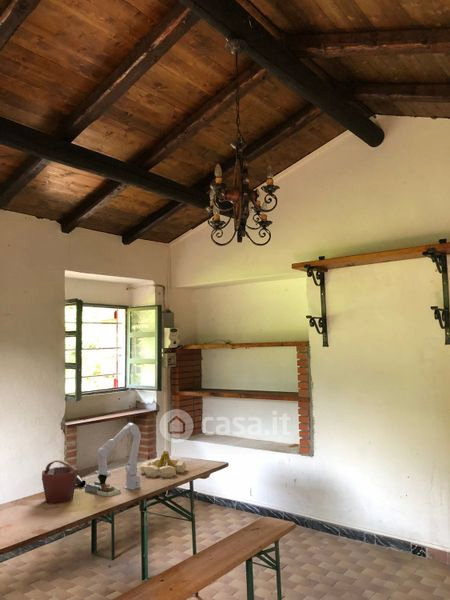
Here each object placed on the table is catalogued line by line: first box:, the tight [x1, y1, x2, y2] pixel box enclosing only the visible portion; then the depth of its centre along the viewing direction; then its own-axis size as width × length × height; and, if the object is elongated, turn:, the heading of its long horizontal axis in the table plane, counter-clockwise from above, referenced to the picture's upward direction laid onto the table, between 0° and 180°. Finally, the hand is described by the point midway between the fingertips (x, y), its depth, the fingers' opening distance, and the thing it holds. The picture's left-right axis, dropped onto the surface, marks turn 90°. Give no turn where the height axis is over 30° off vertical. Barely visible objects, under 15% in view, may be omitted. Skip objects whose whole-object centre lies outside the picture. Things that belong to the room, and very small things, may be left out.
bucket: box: [41, 459, 79, 505], centre depth 306 cm, size 24×22×25 cm
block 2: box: [105, 485, 115, 493], centre depth 315 cm, size 4×4×4 cm
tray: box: [96, 487, 121, 498], centre depth 316 cm, size 11×11×2 cm
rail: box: [84, 480, 103, 495], centre depth 323 cm, size 14×10×4 cm
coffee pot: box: [75, 474, 87, 488], centre depth 331 cm, size 8×18×8 cm
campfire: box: [139, 450, 188, 478], centre depth 369 cm, size 35×34×17 cm
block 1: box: [101, 482, 111, 492], centre depth 318 cm, size 4×4×4 cm
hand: (102, 486), depth 320 cm, fingers closed
